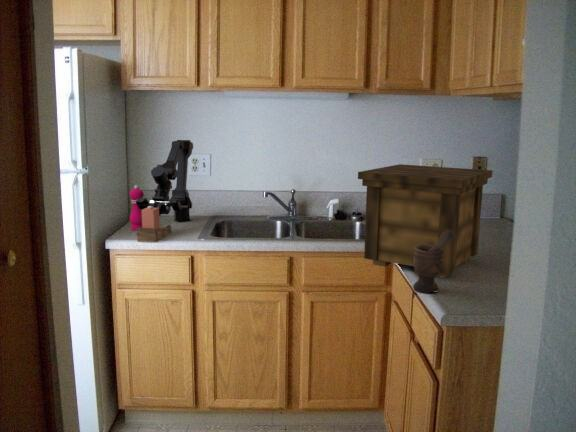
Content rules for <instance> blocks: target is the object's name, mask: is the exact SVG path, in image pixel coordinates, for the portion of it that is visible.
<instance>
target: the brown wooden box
mask: <svg viewBox="0 0 576 432" xmlns="http://www.w3.org/2000/svg"><path fill="white" fill-rule="evenodd" d="M171 234H172V225H171V224H168V225H165V226H160V230H159V231H157V228H137V230H136V239H137V242H139V243H143V242H144V243H158V242H159V241H161V240H162V239H164V238H165V237H167V236H168V235H171Z"/></svg>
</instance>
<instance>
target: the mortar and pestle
mask: <svg viewBox="0 0 576 432" xmlns="http://www.w3.org/2000/svg"><path fill="white" fill-rule="evenodd" d="M453 234H454V232H453V231H452V230H450V229H446V230H445V231H444V232H443V233H442V235H441V236H440V238H439V239H438V241H437V243H436V244H435V245H428V244H422V245H416V246H415V247H414V259H413V263H414V266H413V268H414V269H413V270H414V273H415V274H416V275H417V276H418V279H417V281H416V282H415V283H414V284H413V286H412V287H413V290H414V291H415V292H419V293H422V294H423V293H424V294H426V293H427V294H431V293H430V292H434V291H437V290H438V291H439V285H438V283H436V282H435V278H437V276H438V275H439V273H440V270H441V268H442V263H443V254H444V249H443V248H442V247H443V246H444V245H445V244H446V243H447V242H448V241H449V240H450V239H451V238H452V236H453Z"/></svg>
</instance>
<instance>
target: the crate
mask: <svg viewBox="0 0 576 432" xmlns="http://www.w3.org/2000/svg"><path fill="white" fill-rule="evenodd" d="M490 178H493V170H492V169H476V168H475V169H474V168H459V167H448V166H447V167H446V166H445V167H444V166H432V165H431V166H429V165H416V164H415V165H414V164H395V165H390V166H383V167H378V168H372V169H367V170H363V171H357V180H362V183H361V185H362V187H366V195H365V196H366V200H365V202H366V203H365V223H364V224H365V228H364V231H365V232H364V253H363V254H364V255H363V259H364V260H365V259H366V260H370V261H372V265H373V266H374V265H375V266H380V267H387V266H389V265H391V264H392V263H393V264H397V265H398V264H399V265H405V266H410V267H414V263H413V259H414V247H415V246H416V245H422V244H428V245H435V244H436V243H437V241H438V239H439V238H440V236H441V235H442V233H443V232H444V231H445V230H446V229H450V230H452V231H453V232H454V234H453V236H452V238H451V239H450V240H449V241H448V242H447V243H446V244H445V245H444V246H443V247H442V248H443V249H444V254H443V263H442V268H441V270H440V273H439V275H438V276H443V277H446V276H447V275H448V276H450V275H451V274H453V272H455V271H456V267H458V266H459V265H460V264H465V263H467V262H469V260H470V259H469V258H470V257H475V256H477V254H478V253H479V252H478V251H479V249H478V248H479V241H480V240H479V239H480V227H481V226H480V224H481V214H482V212H481V211H482V201H483V191H484V189H483V188H484V185H487V184H488V182H489V181H488V180H489V179H490ZM449 274H450V275H449ZM448 276H447V277H448ZM443 277H442V278H443ZM447 277H446V278H447Z"/></svg>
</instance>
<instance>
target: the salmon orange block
mask: <svg viewBox="0 0 576 432" xmlns="http://www.w3.org/2000/svg"><path fill="white" fill-rule="evenodd" d="M160 227H161V225H160V216H159V208H153V206H148V207H147V208H145V209H142V228H157V231H159V230H160Z"/></svg>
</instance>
